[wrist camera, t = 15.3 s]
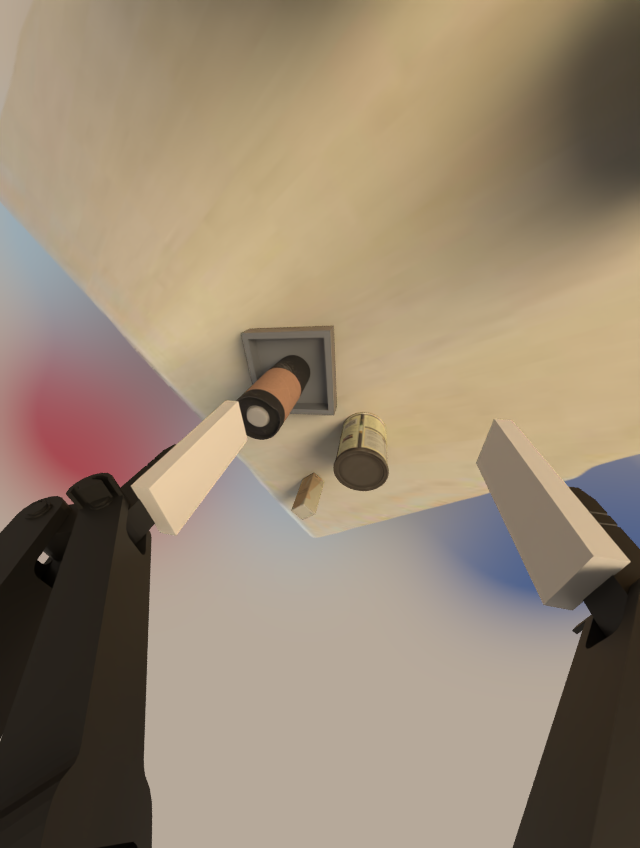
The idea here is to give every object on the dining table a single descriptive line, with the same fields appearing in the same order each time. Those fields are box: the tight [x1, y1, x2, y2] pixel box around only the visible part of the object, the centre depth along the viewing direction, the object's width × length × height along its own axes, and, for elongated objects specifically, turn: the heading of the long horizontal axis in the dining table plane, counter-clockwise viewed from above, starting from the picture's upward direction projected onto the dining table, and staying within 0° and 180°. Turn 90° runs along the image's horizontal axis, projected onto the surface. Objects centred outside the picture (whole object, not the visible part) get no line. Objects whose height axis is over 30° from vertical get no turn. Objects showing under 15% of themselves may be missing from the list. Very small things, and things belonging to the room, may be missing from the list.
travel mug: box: [237, 355, 310, 440], centre depth 44 cm, size 8×8×20 cm
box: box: [291, 473, 324, 520], centre depth 66 cm, size 5×4×11 cm
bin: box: [241, 326, 337, 415], centre depth 52 cm, size 17×17×4 cm
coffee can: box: [334, 412, 389, 491], centre depth 53 cm, size 10×10×14 cm
